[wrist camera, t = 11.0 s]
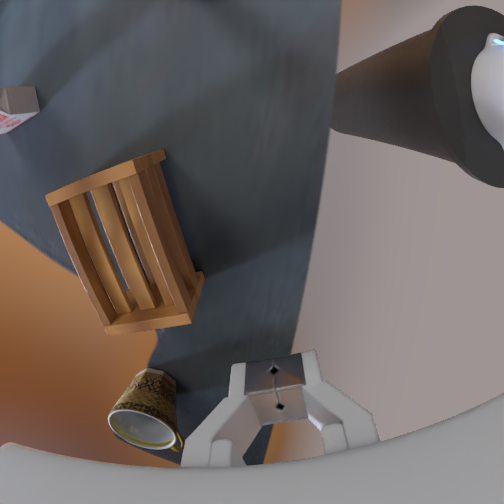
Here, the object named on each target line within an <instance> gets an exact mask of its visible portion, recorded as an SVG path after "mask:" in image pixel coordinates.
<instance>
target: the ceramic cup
mask: <svg viewBox="0 0 504 504" xmlns="http://www.w3.org/2000/svg"><path fill="white" fill-rule="evenodd" d="M108 422H109V425H110V426H111V428H112V429H113V430H114V431H115V432H116V433H117V434H118V435H119V436H120V437H122V438H123V439H125V440H126V441H128V442H130V443H132V444H135V445H137V446H140V447H144V448H149V449H166V448H169V447H170V448H171V449H172V450H174V451H182V450H183V449H184V445H185V442H184V439H183V437H182V435H181V434H180V432H179V430H178V428H177V418H176V381H175V380H174V379H172V378H171V377H170V376H169V375H168V374H166V373H165V372H164V371H161V370H156V369H151V368H146V369H144V370H142V371H141V372H139V373H138V374H137V375H136V376H135V377H134V379H133V380H132V382H131V383H130V385H129V386H128V388H127V389H126V390H125V392H124V394H123V395H122V396H121V397H120V399H119V400H118V401H117V403H116V404H115V406H114V407H113V409H112V410H111V412H110V414H109V416H108ZM177 435H178V437H179V439H180V441H181V448H179V447H178V446H177V445H176V444H175V443H176V440H177Z"/></svg>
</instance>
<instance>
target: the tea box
mask: <svg viewBox="0 0 504 504" xmlns="http://www.w3.org/2000/svg"><path fill="white" fill-rule="evenodd" d="M39 112H40V109H39V104H38V99H37V94H36V89H35V86H5V87H4V88H2V89H1V90H0V134H5V133H8V132H9V131H11V130H12V129H14V128H15V127H17V126H18V125H20V124H22V123H23V122H25V121H26V120H28V119H29V118H31V117H33V116H34V115H36V114H38V113H39Z"/></svg>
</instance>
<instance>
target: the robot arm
mask: <svg viewBox="0 0 504 504" xmlns="http://www.w3.org/2000/svg"><path fill="white" fill-rule="evenodd" d="M471 91H472V97H473V102H474V105H475V108H476V111H477V114H478V116H479V118H480V120H481V122H482V124H483V126H484V127H485V129H486V130H487V131H488V133H489V134H490V135H491V136H492V137H493V138H495V139H496V140H497V141H498V142H499V143H500V144H501V146H502V148H503V150H504V37H503V36H501V35H499V34H496V33H490V34H489V35H488V37H487V40H486V45H485V48H484V49H483V50H482V51H481V52H480V53H479V55H478V56H477V57H476V59H475V61H474V64H473V67H472V73H471ZM306 418H309V420H310V421H311V422H312V423H313V424H314V425H315V426H316V427H317V428H318V429H319V430H320V431H321V432H322V440H323V447H324V455H323V456H318V457H312V458H307V459H300V460H293V461H287V462H280V463H270V464H261V465H250V466H247V465H246V464H245V462H244V460H243V459H242V457H243V455H244V454H245V452H246V450H247V449H248V447H249V446H250V444H251V443H252V441H253V440H254V438H255V436H256V435H257V433H258V432H259V430H260V429H261V426H262V425H268V424H274V423H280V422H286V421H293V420H300V419H306ZM0 504H504V393H502V394H501V395H499V396H497V397H495V398H493V399H491V400H489V401H487V402H485V403H483V404H480V405H478V406H476V407H474V408H472V409H470V410H467V411H465V412H463V413H460V414H458V415H456V416H453V417H451V418H448V419H446V420H443V421H441V422H438V423H436V424H433V425H431V426H428V427H425V428H422V429H419V430H416V431H414V432H411V433H408V434H404V435H402V436H398V437H395V438H392V439H388V440H385V441H382V442H380V439H379V435H378V432H377V429H376V425H375V422H374V419H373V415H372V413H370V412H369V411H368V410H366V409H365V408H363V407H362V406H361V405H359V404H358V403H356V402H355V401H354V400H352V399H351V398H349V397H348V396H347V395H345V394H344V393H342V392H341V391H340V390H338V389H337V388H336V387H334V386H333V385H332V384H330V383H329V382H327V381H324V382H323V381H322V376H321V372H320V367H319V363H318V358H317V353H316V350H310V351H305V352H302V354H301V353H297V354H292V355H287V356H282V357H277V358H271V359H265V360H258V361H251V362H246V363H238V364H233V365H232V367H231V377H230V387H229V397H227V398H224V399H223V400H222V401H221V402H220V403H219V405H218V406H217V407H216V408H215V409H214V410H213V411H212V412H211V413H210V414H209V416H208V417H207V418H206V419H205V420H204V421H203V422H202V423H201V424H200V425H199V426H198V427H197V428H196V429H195V431H194V432H193V433H192V434H191V435H190V436H189V437H188V438H187V439H186V440H185V445H184V450H183V455H182V461H181V466H180V468H166V467H165V468H164V467H147V466H134V465H123V464H114V463H106V462H99V461H92V460H86V459H79V458H74V457H68V456H64V455H59V454H54V453H50V452H45V451H41V450H37V449H33V448H29V447H26V446H23V445H19V444H16V443H6V444H4V445H3V446H1V447H0Z"/></svg>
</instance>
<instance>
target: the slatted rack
mask: <svg viewBox="0 0 504 504" xmlns="http://www.w3.org/2000/svg"><path fill="white" fill-rule="evenodd" d="M165 159H166V156H165V152H164V149H160V150H157V151H154V152H151V153H148V154H145V155H142V156H139V157H137V158H134V159H131V160H128V161H125V162H123V163H120V164H117V165H115V166H112V167H109V168H107V169H104V170H102V171H99V172H97V173H94V174H92V175H89V176H87V177H84V178H82V179H80V180H78V181H75V182H73V183H71V184H69V185H66V186H64V187H62V188H60V189H58V190H56V191H53V192H51V193H49V194H47V195H45V196H46V199H47V202H48V205H49V207H51V209H52V212H53V215H54V217H55V220H56V223H57V225H58V228H59V231H60V233H61V236H62V238H63V241H64V243H65V245H66V248H67V250H68V253H69V255H70V257H71V259H72V262H73V264H74V266H75V268H76V271H77V273H78V275H79V277H80V279H81V281H82V284H83V286H84V288H85V290H86V292H87V294H88V296H89V298H90V300H91V302H92V304H93V306H94V308H95V309H96V312H97V313H98V315H99V318H100V319H101V321H102V323H103V325H104V329H105V331H106V333H107V334H108V335H117V334H124V333H131V332H139V331H145V330H153V329H160V328H167V327H173V326H179V325H186V324H191V323H192V321H193V318H194V314H195V311H196V308H197V304H198V301H199V298H200V294H201V291H202V288H203V284H204V281H205V277H204V274H203V272H202V271H199V272H195V269H194V266H193V263H192V261H191V258H190V255H189V252H188V249H187V246H186V243H185V240H184V237H183V234H182V231H181V228H180V225H179V222H178V219H177V216H176V213H175V210H174V207H173V204H172V201H171V198H170V195H169V191H168V188H167V185H166V182H165V179H164V175H163V172H162V169H161V165H160V163H159V162H161V161H163V160H165ZM111 182H112V183H113V186H114V189H115V192H116V195H117V198H118V201H119V204H120V207H121V209H122V212H123V215H124V218H125V221H126V223H127V226H128V229H129V232H130V234H131V237H132V240H133V242H134V245H135V247H136V250H137V253H138V255H139V258H140V260H141V263H142V265H143V268H144V270H145V272H146V275H147V277H148V280H149V282H147V280H146V277H145V275H144V272H143V270H142V267H141V265H140V263H139V260H138V258H137V255H136V252H135V250H134V247H133V245H132V242H131V240H130V237H129V234H128V232H127V229H126V226H125V224H124V221H123V218H122V215H121V212H120V210H119V207H118V204H117V201H116V198H115V195H114V192H113V189H112V186H111ZM87 191H91V194H92V197H93V200H94V203H95V205H96V208H97V211H98V214H99V216H100V219H101V222H102V225H103V227H104V230H105V232H106V235H107V238H108V240H109V243H110V245H111V248H112V250H113V253H114V255H115V257H116V260H117V262H118V265H119V267H120V269H121V272H122V274H123V276H124V279H125V281H126V283H127V285H128V288H129V289H128V290H127V292H125V290H124V287H123V285H122V283H121V281H120V278H119V276H118V274H117V271H116V269H115V267H114V265H113V262H112V260H111V257H110V255H109V253H108V250H107V248H106V245H105V243H104V240H103V238H102V235H101V232H100V230H99V227H98V225H97V222H96V219H95V217H94V214H93V211H92V208H91V205H90V203H89V200H88V197H87V194H86V192H87ZM68 199H69V200H70V203H71V206H72V209H73V211H72V209H71V206H70V203H69V200H68ZM73 212H74V214H75V217H76V219H75V217H74V214H73ZM76 220H77V222H78V225H79V227H78V225H77V222H76ZM79 228H80V230H81V233H82V235H83V238H84V240H85V243H86V245H87V247H86V245H85V243H84V240H83V238H82V235H81V233H80V230H79ZM87 248H88V250H89V252H90V255H91V257H92V259H93V262H94V264H95V266H96V268H95V266H94V264H93V262H92V259H91V257H90V255H89V252H88V250H87ZM96 269H97V271H98V273H99V275H100V277H99V275H98V273H97V271H96ZM100 278H101V280H102V282H103V284H104V286H105V288H106V290H105V288H104V286H103V284H102V282H101V280H100ZM106 291H107V293H108V295H109V297H110V299H111V301H112V303H113V305H114V307H115V309H114V307H113V305H112V303H111V301H110V299H109V297H108V295H107V293H106Z"/></svg>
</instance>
